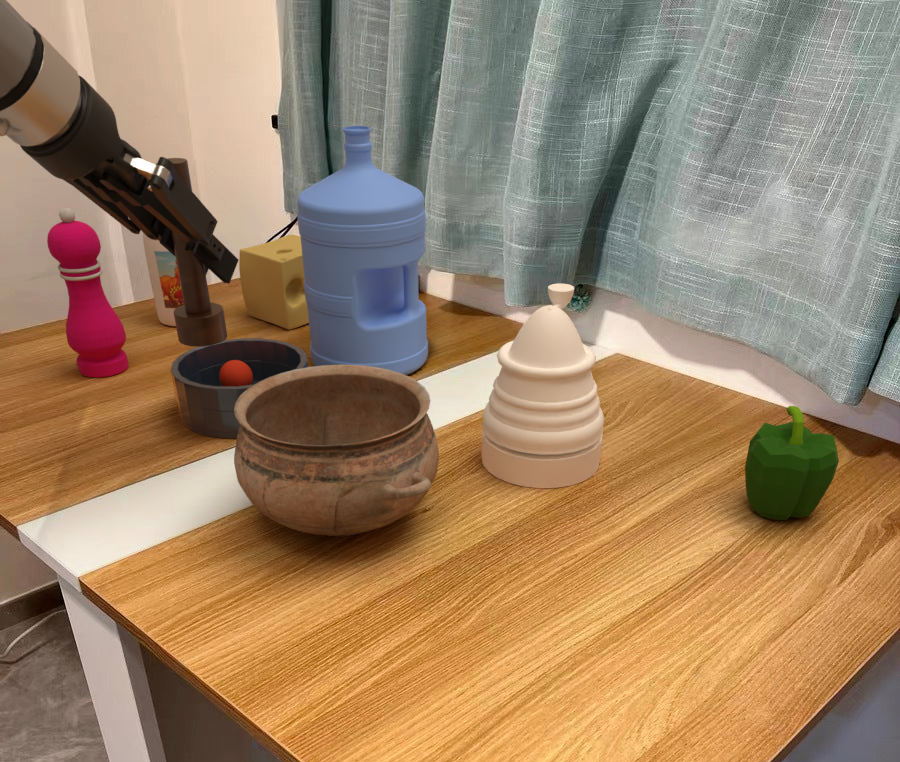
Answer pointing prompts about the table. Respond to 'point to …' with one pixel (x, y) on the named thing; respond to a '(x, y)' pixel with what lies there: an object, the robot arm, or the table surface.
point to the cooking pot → (335, 448)
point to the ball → (235, 374)
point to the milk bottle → (163, 280)
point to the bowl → (202, 391)
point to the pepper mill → (87, 299)
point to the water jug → (363, 264)
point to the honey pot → (544, 404)
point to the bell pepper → (789, 468)
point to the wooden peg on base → (195, 291)
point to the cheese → (275, 282)
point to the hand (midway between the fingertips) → (218, 268)
